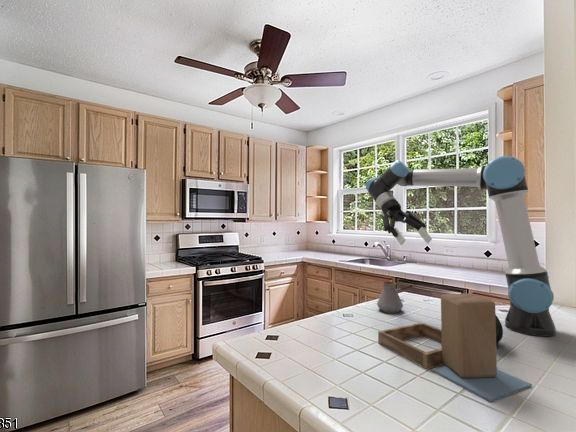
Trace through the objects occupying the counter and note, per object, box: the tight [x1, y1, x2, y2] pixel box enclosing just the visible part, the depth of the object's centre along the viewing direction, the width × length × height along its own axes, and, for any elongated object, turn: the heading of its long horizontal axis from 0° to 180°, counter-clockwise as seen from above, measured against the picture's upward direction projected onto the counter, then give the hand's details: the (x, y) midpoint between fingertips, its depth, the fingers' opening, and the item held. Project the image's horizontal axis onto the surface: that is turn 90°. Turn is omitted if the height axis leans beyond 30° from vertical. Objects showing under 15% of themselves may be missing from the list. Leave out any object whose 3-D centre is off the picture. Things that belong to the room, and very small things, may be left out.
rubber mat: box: [432, 364, 533, 403], centre depth 81 cm, size 16×16×1 cm
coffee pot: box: [376, 281, 418, 314], centre depth 139 cm, size 21×12×15 cm, turn 24°
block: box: [440, 292, 498, 378], centre depth 85 cm, size 10×10×20 cm
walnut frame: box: [377, 322, 446, 370], centre depth 101 cm, size 20×20×4 cm
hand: (416, 241), depth 118 cm, fingers open, 13 cm apart
